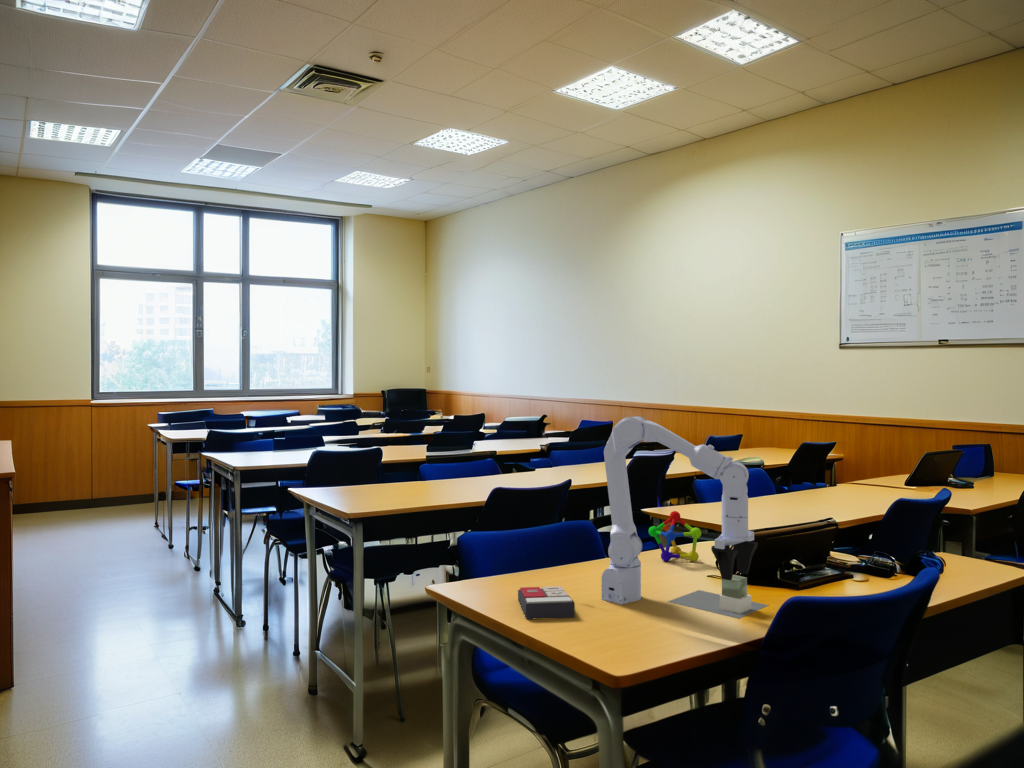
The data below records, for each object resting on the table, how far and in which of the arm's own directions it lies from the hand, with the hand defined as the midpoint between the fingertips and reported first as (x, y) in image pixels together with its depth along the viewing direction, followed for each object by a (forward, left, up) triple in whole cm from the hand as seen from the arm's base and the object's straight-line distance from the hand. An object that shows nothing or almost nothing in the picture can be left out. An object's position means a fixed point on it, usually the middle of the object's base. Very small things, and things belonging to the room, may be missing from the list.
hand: (735, 576), depth 160 cm
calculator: (-28, +33, -9) cm, 44 cm away
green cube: (0, 0, -4) cm, 4 cm away
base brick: (0, 0, -7) cm, 7 cm away
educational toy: (+35, +38, -9) cm, 52 cm away
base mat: (+1, +5, -8) cm, 10 cm away
